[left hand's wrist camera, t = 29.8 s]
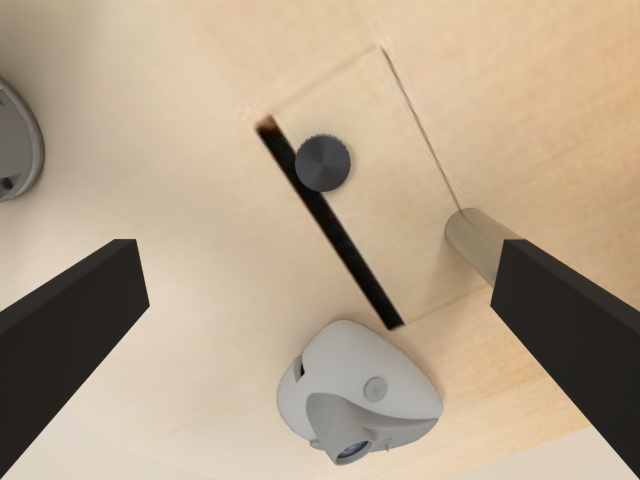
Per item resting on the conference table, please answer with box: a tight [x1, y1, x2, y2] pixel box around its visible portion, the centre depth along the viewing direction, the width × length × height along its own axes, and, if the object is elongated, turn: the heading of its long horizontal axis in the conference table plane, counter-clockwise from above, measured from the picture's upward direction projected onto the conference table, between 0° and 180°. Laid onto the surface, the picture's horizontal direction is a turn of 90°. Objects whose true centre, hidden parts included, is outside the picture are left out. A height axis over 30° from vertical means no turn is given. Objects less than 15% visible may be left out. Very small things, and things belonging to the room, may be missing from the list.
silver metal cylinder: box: [445, 208, 524, 289], centre depth 34 cm, size 5×5×18 cm
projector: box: [277, 320, 443, 465], centre depth 43 cm, size 22×23×15 cm
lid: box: [295, 134, 351, 192], centre depth 38 cm, size 6×6×2 cm
